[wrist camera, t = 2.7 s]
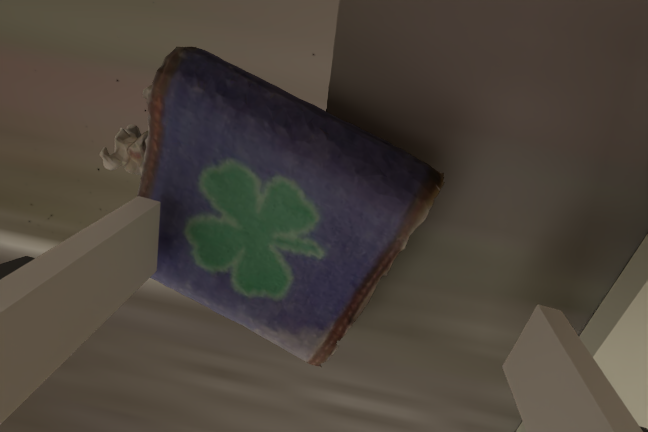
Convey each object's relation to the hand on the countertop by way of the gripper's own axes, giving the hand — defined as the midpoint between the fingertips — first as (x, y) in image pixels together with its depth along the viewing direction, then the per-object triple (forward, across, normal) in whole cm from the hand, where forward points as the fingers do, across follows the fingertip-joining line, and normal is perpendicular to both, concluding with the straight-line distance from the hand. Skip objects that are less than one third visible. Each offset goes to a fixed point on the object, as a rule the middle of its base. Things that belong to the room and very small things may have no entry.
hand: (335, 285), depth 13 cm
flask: (+4, +1, +1) cm, 4 cm away
